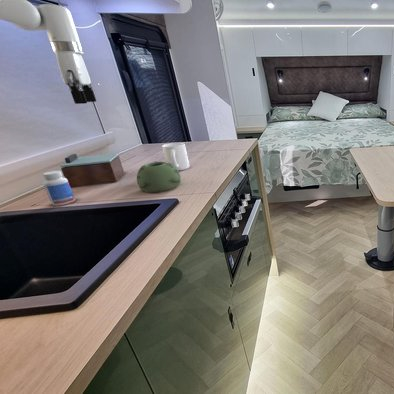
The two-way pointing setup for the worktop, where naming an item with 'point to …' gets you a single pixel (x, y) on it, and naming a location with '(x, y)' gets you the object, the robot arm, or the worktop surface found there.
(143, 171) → the green planter pot
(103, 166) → the box
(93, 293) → the worktop surface
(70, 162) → the sliding box lid
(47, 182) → the pill bottle
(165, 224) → the worktop surface
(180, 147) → the mug
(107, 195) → the worktop surface
